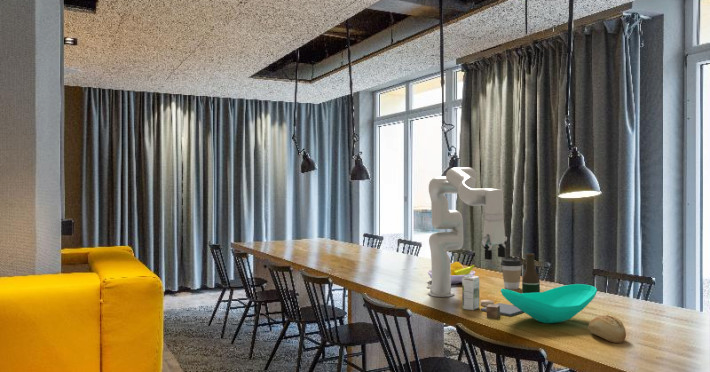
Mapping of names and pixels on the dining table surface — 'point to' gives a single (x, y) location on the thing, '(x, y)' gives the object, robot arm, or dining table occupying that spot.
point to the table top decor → (553, 302)
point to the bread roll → (608, 328)
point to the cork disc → (486, 302)
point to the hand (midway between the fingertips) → (495, 258)
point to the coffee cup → (511, 273)
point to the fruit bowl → (457, 272)
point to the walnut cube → (493, 311)
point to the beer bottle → (530, 276)
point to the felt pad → (506, 309)
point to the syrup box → (470, 292)
